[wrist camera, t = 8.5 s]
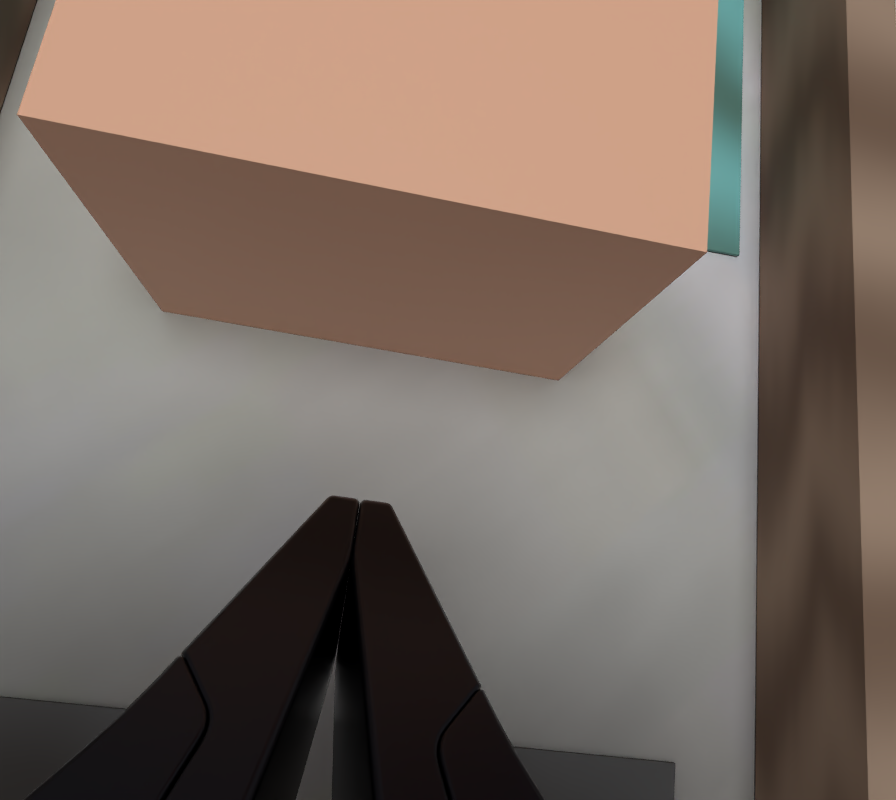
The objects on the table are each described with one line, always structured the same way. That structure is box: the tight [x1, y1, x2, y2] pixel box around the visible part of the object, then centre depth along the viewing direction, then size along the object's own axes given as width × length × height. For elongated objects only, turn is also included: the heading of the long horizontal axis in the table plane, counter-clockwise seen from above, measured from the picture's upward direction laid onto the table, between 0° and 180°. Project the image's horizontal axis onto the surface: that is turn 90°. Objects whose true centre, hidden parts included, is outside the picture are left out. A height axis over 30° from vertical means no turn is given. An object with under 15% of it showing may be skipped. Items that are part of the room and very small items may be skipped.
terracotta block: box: [17, 0, 718, 380], centre depth 17 cm, size 14×11×8 cm
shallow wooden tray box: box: [0, 0, 896, 800], centre depth 17 cm, size 36×26×4 cm
